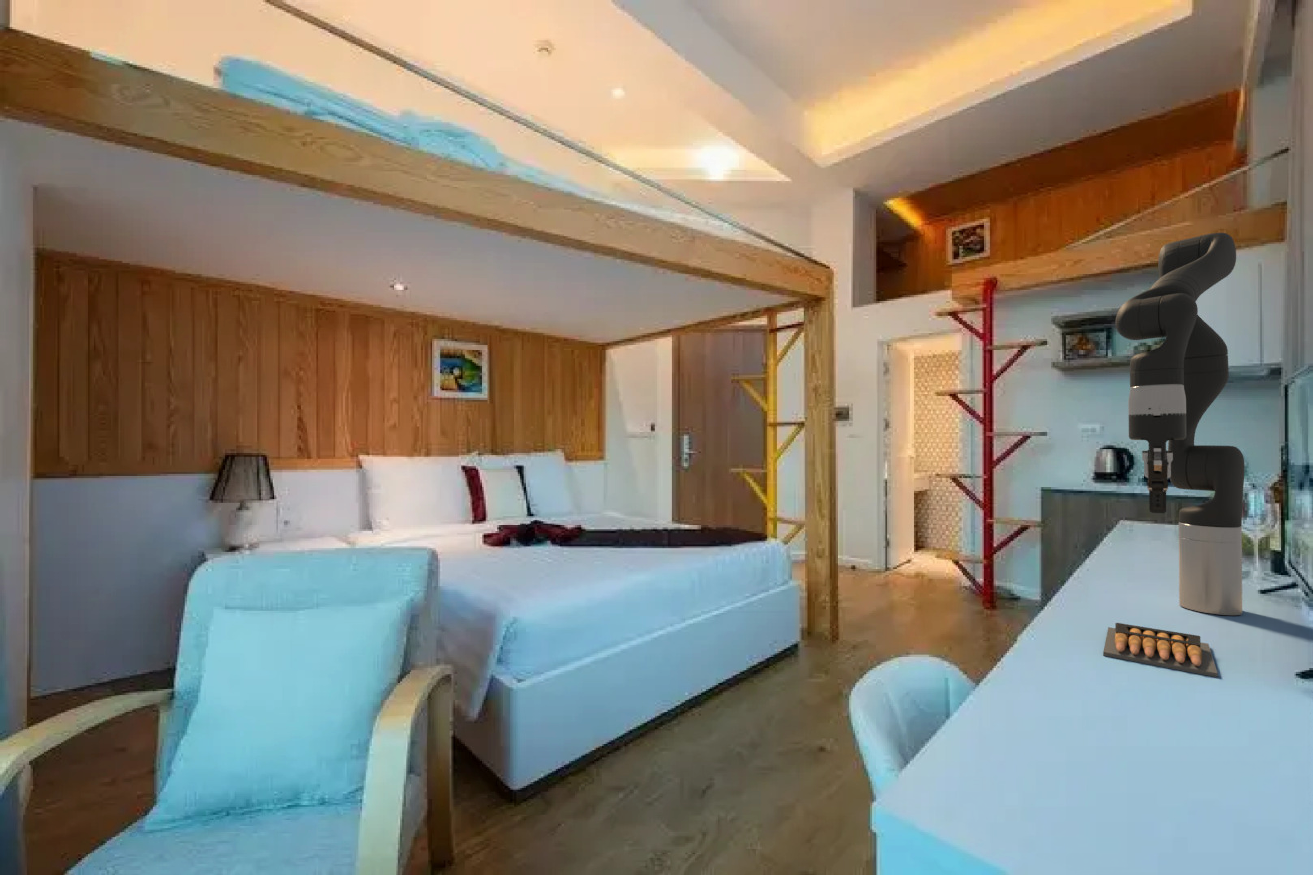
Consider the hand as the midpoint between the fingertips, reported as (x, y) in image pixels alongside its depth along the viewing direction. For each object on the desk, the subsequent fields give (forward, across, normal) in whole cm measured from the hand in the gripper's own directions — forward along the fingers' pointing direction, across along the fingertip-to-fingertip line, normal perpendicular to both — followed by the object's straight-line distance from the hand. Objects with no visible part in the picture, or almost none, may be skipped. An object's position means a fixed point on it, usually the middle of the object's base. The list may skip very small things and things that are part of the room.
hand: (1157, 512), depth 99 cm
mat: (+22, +8, 0) cm, 23 cm away
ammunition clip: (+20, +4, 0) cm, 20 cm away
